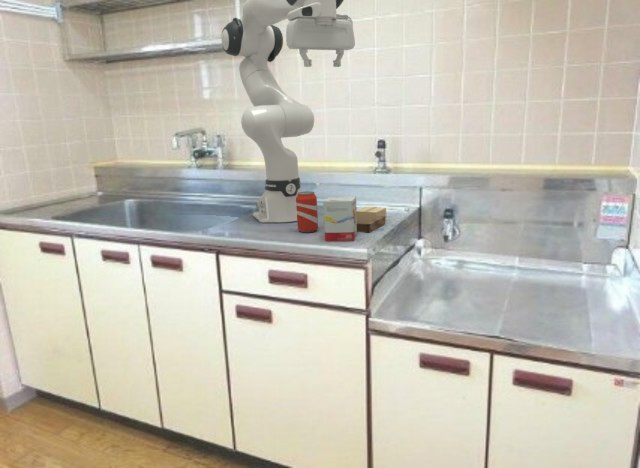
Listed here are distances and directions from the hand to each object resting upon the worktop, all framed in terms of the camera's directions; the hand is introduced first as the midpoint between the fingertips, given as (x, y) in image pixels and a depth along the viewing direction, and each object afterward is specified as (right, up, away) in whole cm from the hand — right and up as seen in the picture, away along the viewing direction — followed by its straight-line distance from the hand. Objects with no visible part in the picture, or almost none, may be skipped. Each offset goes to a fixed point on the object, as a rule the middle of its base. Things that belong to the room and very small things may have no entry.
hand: (322, 66), depth 139 cm
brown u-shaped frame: (+12, -44, +19) cm, 49 cm away
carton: (+16, -43, +24) cm, 52 cm away
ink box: (+5, -48, +6) cm, 49 cm away
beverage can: (-4, -46, +17) cm, 49 cm away
